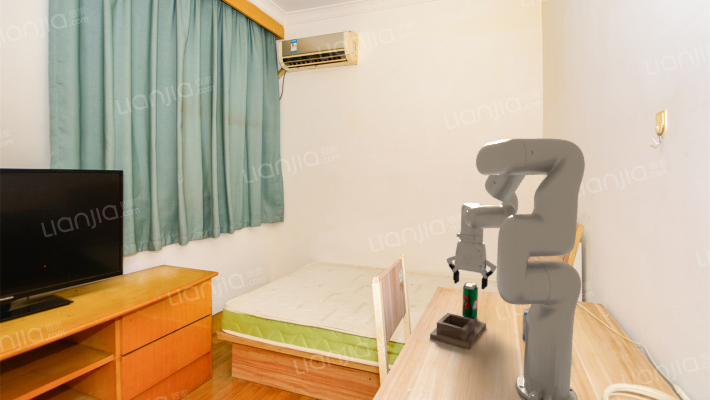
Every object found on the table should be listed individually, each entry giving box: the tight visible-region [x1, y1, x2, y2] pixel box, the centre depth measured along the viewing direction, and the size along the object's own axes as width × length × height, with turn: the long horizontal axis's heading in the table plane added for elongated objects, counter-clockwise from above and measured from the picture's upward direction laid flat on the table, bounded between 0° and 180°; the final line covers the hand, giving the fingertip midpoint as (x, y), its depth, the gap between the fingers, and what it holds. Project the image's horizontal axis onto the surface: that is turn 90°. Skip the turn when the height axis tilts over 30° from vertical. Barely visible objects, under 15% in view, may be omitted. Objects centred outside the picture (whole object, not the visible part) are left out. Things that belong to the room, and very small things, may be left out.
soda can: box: [461, 282, 479, 320], centre depth 122 cm, size 5×5×12 cm
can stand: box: [429, 312, 487, 351], centre depth 111 cm, size 18×12×5 cm, turn 144°
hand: (469, 285), depth 123 cm, fingers open, 9 cm apart
